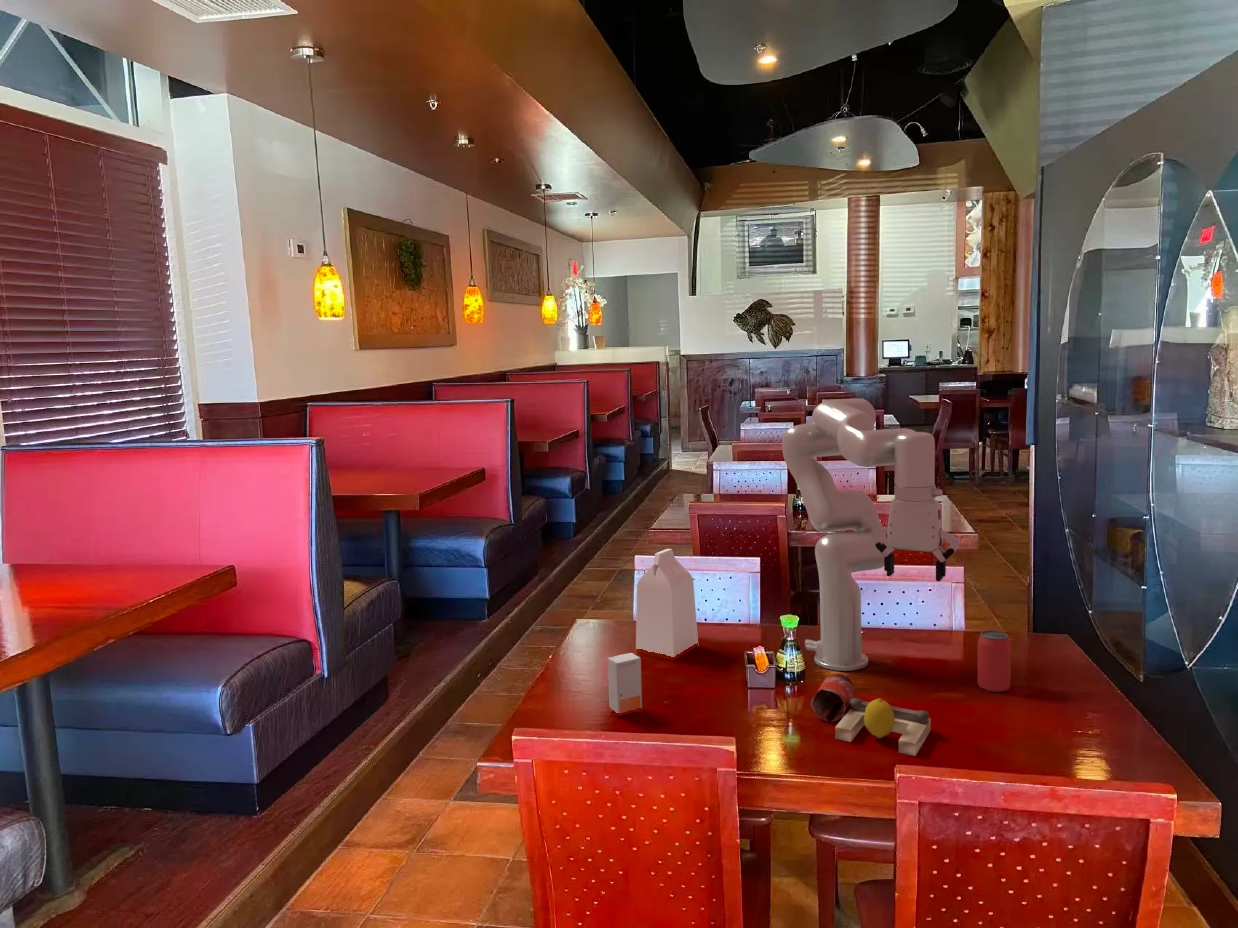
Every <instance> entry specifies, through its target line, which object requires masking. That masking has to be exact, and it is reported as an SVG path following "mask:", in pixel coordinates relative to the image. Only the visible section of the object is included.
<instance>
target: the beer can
mask: <svg viewBox="0 0 1238 928" xmlns="http://www.w3.org/2000/svg"><path fill="white" fill-rule="evenodd" d="M1011 645H1012V644H1011V641H1010V639H1009V634H1007V633H1006V632H1004V631H1000V630H993V629H990V630H983V631H981V632H980V636H979V638H978V641H977V676H976V677H977V678H976V679H977V683H976V684H977V685H978V687H980V688H981V689H982V690H984V689H985V691H989V692H994V693H1003V692H1006V691H1009V689H1010V688H1011V672H1012V671H1011V670H1012V669H1011V666H1012V663H1011V659H1012V654H1011V653H1012V646H1011Z"/></svg>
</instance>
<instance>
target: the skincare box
mask: <svg viewBox="0 0 1238 928" xmlns="http://www.w3.org/2000/svg"><path fill="white" fill-rule="evenodd" d="M607 677H608V678H607V679H608V680H607V681H608V704H609V707H610V708H611V709H612V710H614V711H615V712H616V713H623V712H626V711H629V710H635V709H637V708H642V709H643V700H642V699H643V696H642V694H643V693H642V661H641V657H640V656H639V655H636V653H633V652H629V653H623V654H622V653H621V654H619V655H618V654H617V655H614V656H610V657H607Z"/></svg>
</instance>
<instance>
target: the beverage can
mask: <svg viewBox="0 0 1238 928" xmlns="http://www.w3.org/2000/svg"><path fill="white" fill-rule="evenodd" d="M855 690H856V689H855V687H854V684H853V681H852V680H851V678H850V677H849V676H848V675H847V674H845V673H842V672H837V673H832V674H830V675H827V677H826V678H824V680H823V681H822V683H821V685H820V687H819V688H818V690H817V691H816V692H815V694H814V695H813V697H812V698H811V702H810V707H811V709H812V710H813V711H814V712H815V714H816V715H817V716H818V718H820V719H822V720H824V721H827V722H828V721H829V720H828V719H827V716H828V715H830V712H831V711H832V709H833V707H834V705H835V703H838V704H841V705H840V707H839V709H838V711H837V713H836V715H835V716H834V719H832V722H836V721H838V720H842V718H843V717H844V716H845V714H846V713H845V712H846V709H847V708H849V705H851V699H853V698H854V695H855Z"/></svg>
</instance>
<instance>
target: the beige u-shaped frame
mask: <svg viewBox="0 0 1238 928" xmlns="http://www.w3.org/2000/svg"><path fill="white" fill-rule="evenodd" d="M870 702H871V701H864V700H862V699H861V698H858V697H857V698H856V697H853V698H852V699H851V702H850V709H849V710H848V711H847V712H846V713H845V714H844V716H843V717H842V718H841V719H840V721H839V722H838V723H837V725H836V726H835V727H834V731H835V733H834V735H835V736H834V738H835V740H839V741H844V742H848V743H851V742H852V741H853V740H854V739H855V737H856V736H857V735H858V734H859V732H860V731H861V730H862V728H863V727H866V725H865V721H864V715H865V710H866V707H867V705H868V704H869V703H870ZM890 706H891V708H892V710H893V713H894V727H893V729H892V731H891V732H890V733H895V734H902V735H900V738H899V739H898V753H899V754H904V755H908V756H913V757H916V756H917V754H918V752H919V750H920V749H921V748H922V746H923V744H924V742H925V741H926V739H927V738H928V736H929V734H930V732H931V728H932V727H931V726H932V725H931V722H932V721H931V718H930V714H929V713H930V712H928V711H926V710H914V709H913V710H912V709H908V708H901V707H898V706H894V705H893V706H892V705H890Z"/></svg>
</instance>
